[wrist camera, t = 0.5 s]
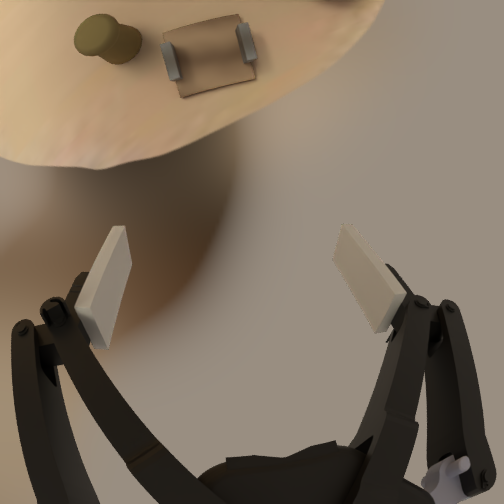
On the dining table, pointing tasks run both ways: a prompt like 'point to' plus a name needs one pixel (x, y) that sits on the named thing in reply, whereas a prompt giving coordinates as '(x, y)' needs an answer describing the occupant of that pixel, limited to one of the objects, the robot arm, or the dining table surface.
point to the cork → (107, 39)
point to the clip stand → (209, 54)
